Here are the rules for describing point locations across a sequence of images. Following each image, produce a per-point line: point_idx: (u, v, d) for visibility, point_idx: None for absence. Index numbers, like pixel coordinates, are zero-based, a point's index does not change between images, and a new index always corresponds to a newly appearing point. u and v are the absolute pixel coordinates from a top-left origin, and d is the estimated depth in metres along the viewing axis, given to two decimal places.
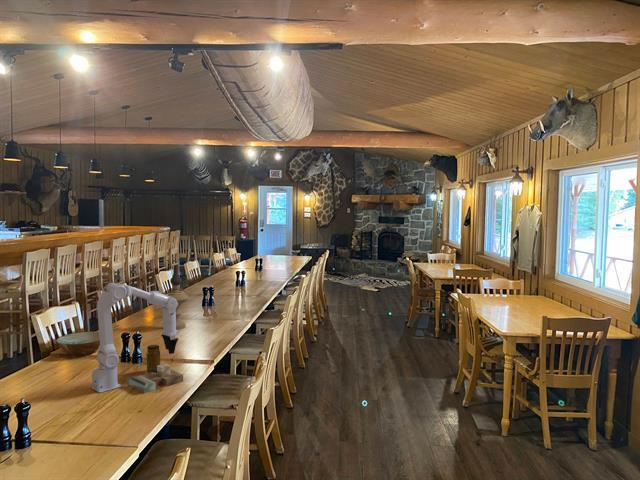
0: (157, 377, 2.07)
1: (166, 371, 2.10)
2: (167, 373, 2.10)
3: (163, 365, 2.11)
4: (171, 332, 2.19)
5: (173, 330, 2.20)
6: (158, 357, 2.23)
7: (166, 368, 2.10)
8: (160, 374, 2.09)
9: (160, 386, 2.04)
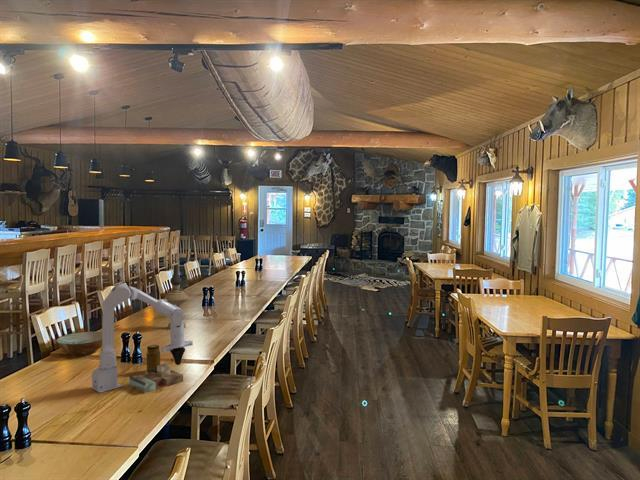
0: (157, 377, 2.07)
1: (166, 371, 2.10)
2: (167, 373, 2.10)
3: (163, 365, 2.11)
4: (172, 345, 2.13)
5: (174, 343, 2.13)
6: (158, 357, 2.23)
7: (166, 368, 2.10)
8: (160, 374, 2.09)
9: (160, 386, 2.04)
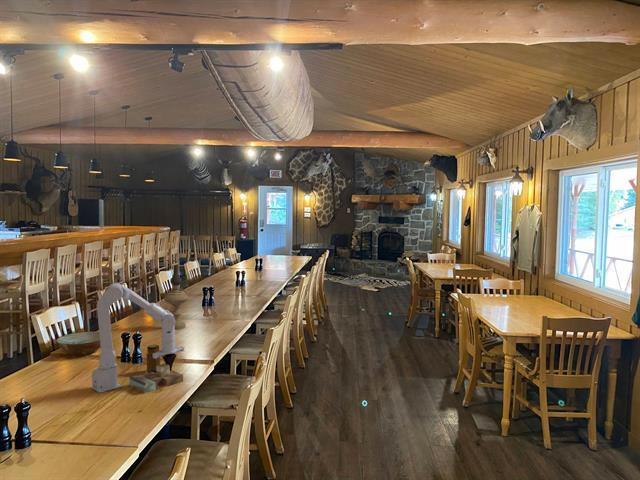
0: (157, 377, 2.07)
1: (166, 371, 2.10)
2: (167, 373, 2.10)
3: (162, 365, 2.11)
4: (163, 351, 2.10)
5: (165, 349, 2.09)
6: (158, 357, 2.23)
7: (165, 368, 2.09)
8: (160, 374, 2.09)
9: (160, 386, 2.04)
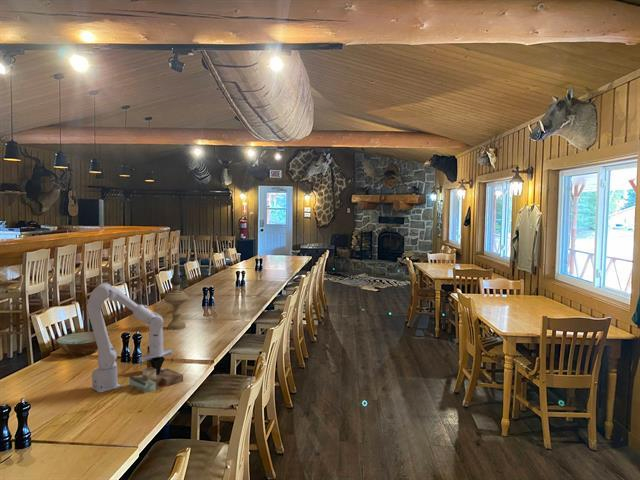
0: (157, 377, 2.07)
1: (152, 374, 2.05)
2: (153, 377, 2.05)
3: (149, 369, 2.06)
4: (150, 354, 2.06)
5: (152, 352, 2.05)
6: None
7: (152, 372, 2.05)
8: (146, 378, 2.04)
9: (160, 386, 2.04)
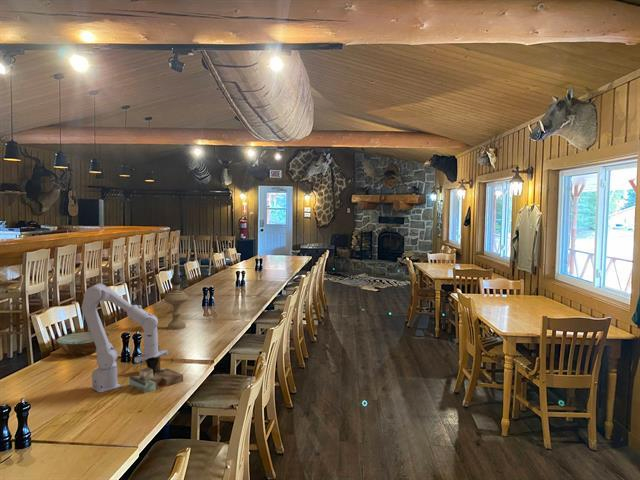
0: (157, 377, 2.07)
1: (149, 375, 2.04)
2: (150, 377, 2.04)
3: (145, 369, 2.05)
4: (145, 355, 2.04)
5: (147, 353, 2.03)
6: (158, 357, 2.23)
7: (148, 372, 2.03)
8: (143, 379, 2.03)
9: (160, 386, 2.04)
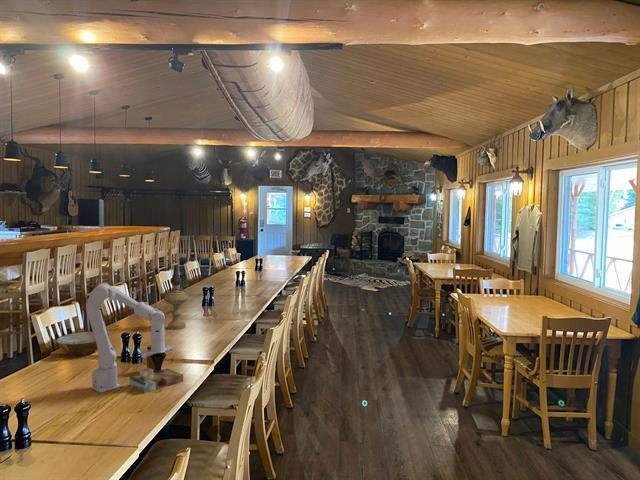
0: (157, 377, 2.07)
1: (150, 375, 2.04)
2: (150, 378, 2.04)
3: (146, 369, 2.05)
4: (152, 350, 2.06)
5: (154, 348, 2.06)
6: None
7: (149, 372, 2.04)
8: (143, 379, 2.03)
9: (160, 386, 2.04)
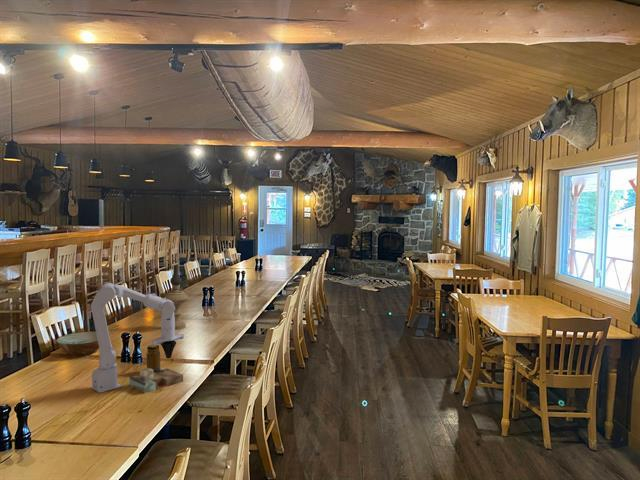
0: (157, 377, 2.07)
1: (150, 375, 2.04)
2: (150, 378, 2.04)
3: (146, 369, 2.05)
4: (162, 338, 2.09)
5: (164, 336, 2.09)
6: (158, 357, 2.23)
7: (149, 372, 2.04)
8: (143, 379, 2.03)
9: (160, 386, 2.04)
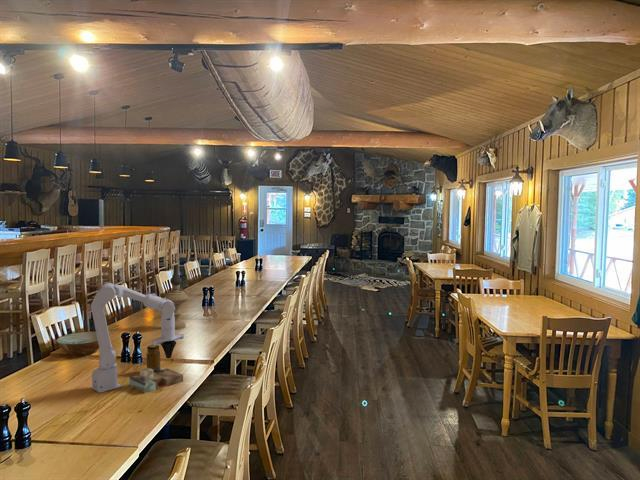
0: (157, 377, 2.07)
1: (150, 375, 2.04)
2: (150, 378, 2.04)
3: (146, 369, 2.05)
4: (162, 338, 2.09)
5: (164, 336, 2.09)
6: (158, 357, 2.23)
7: (149, 372, 2.04)
8: (143, 379, 2.03)
9: (160, 386, 2.04)
